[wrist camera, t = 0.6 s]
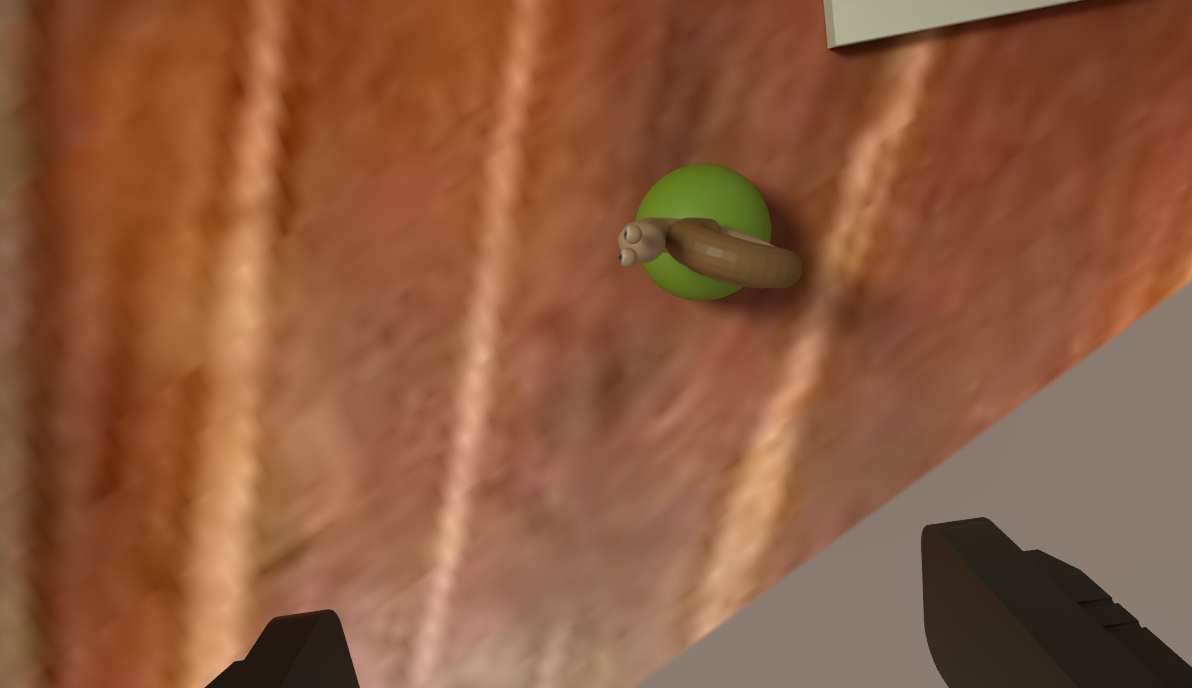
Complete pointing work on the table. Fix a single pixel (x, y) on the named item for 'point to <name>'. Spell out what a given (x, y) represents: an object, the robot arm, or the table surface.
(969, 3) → the collar stand
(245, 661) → the robot arm
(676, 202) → the snail figurine
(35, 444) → the table surface
